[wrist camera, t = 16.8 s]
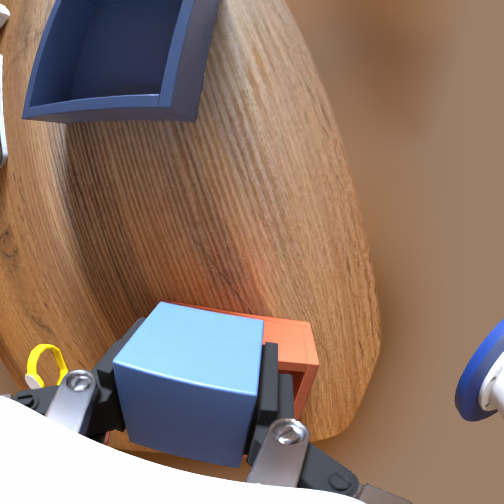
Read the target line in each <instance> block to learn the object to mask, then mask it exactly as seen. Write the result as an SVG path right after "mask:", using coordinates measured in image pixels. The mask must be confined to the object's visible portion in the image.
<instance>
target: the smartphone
mask: <svg viewBox="0 0 504 504" xmlns="http://www.w3.org/2000/svg"><path fill="white" fill-rule="evenodd" d="M7 157H8V152H7V145H6V137H5V128H4V118H3V102H2V55H0V168H1V167H2V166H4V165H5V163H6V161H7Z"/></svg>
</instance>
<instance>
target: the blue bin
mask: <svg viewBox="0 0 504 504" xmlns="http://www.w3.org/2000/svg"><path fill="white" fill-rule="evenodd" d="M219 4H220V0H56V1H55V4H54V6H53V8H52V11H51V13H50V16H49V18H48V21H47V24H46V26H45V29H44V32H43V35H42V38H41V41H40V44H39V47H38V50H37V53H36V57H35V60H34V64H33V68H32V72H31V76H30V80H29V84H28V89H27V93H26V98H25V104H24V109H23V115H22V119H26V120H37V121H47V122H55V123H64V124H68V123H80V122H97V121H131V120H145V121H181V122H196V119H197V112H198V106H199V100H200V94H201V88H202V83H203V77H204V72H205V67H206V62H207V57H208V52H209V47H210V42H211V38H212V33H213V29H214V24H215V20H216V16H217V12H218V8H219Z"/></svg>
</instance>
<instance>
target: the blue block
mask: <svg viewBox="0 0 504 504" xmlns="http://www.w3.org/2000/svg"><path fill="white" fill-rule="evenodd" d="M263 331H264V321H263V320H257V319H251V318H245V317H239V316H233V315H227V314H221V313H216V312H210V311H205V310H200V309H195V308H189V307H184V306H179V305H175V304H170V303H165V302H160V303H159V304H158V305H157V307H156V308H155V309H154V310H153V311H152V313H151V314H150V315H149V316H148V317H147V319H146V320H145V321H144V322H143V324H142V325H141V326H140V327H139V328H138V330H137V331H136V332H135V333H134V335H133V336H132V337H131V338H130V340H129V341H128V342H127V343H126V345H125V346H124V347H123V348H122V350H121V351H120V352H119V353H118V355H117V356H116V357H115V358H114V360H113V368H114V374H115V380H116V385H117V390H118V395H119V400H120V404H121V409H122V413H123V418H124V422H125V426H126V430H127V433H128V437H129V441H131V442H133V443H136V444H139V445H142V446H145V447H148V448H151V449H154V450H158V451H161V452H165V453H168V454H172V455H176V456H180V457H184V458H188V459H193V460H197V461H202V462H207V463H211V464H217V465H222V466H228V467H235V468H239V467H240V466H241V461H242V458H243V454H244V450H245V446H246V442H247V438H248V434H249V430H250V425H251V421H252V417H253V413H254V408H255V404H256V400H257V395H258V385H259V375H260V364H261V353H262V342H263Z"/></svg>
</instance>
